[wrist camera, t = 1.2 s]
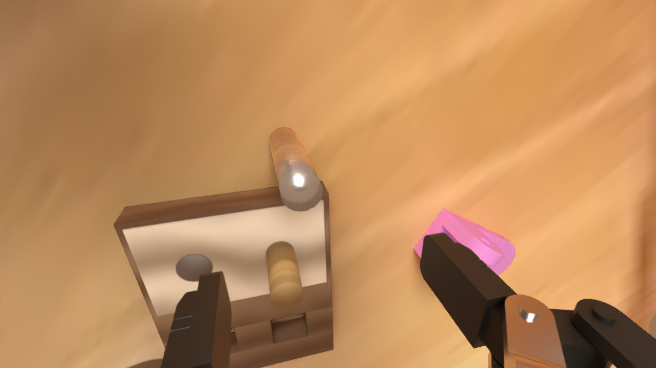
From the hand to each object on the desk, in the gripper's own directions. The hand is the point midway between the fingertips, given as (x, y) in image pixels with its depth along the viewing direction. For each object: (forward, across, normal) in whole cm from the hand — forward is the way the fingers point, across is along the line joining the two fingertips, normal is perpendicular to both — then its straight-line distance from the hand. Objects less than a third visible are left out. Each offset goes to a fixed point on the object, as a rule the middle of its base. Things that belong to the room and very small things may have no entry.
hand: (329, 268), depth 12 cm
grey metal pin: (+15, 0, 0) cm, 15 cm away
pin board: (+15, +5, +14) cm, 21 cm away
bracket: (+16, -20, +15) cm, 29 cm away
